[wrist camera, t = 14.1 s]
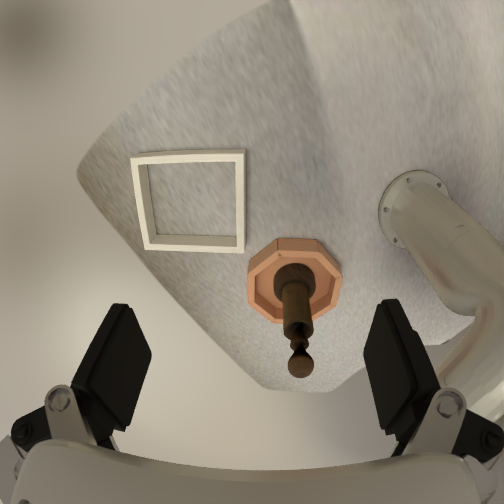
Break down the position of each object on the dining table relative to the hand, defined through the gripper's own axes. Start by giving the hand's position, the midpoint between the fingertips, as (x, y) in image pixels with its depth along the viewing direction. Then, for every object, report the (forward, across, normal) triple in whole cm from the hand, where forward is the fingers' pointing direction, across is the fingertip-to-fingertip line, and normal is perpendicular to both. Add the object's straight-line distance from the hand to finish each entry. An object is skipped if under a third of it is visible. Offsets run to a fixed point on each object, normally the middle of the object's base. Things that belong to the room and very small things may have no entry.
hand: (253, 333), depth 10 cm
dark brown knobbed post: (+29, -4, +20) cm, 35 cm away
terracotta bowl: (+30, -4, +20) cm, 36 cm away
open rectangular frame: (+30, +10, +6) cm, 32 cm away
